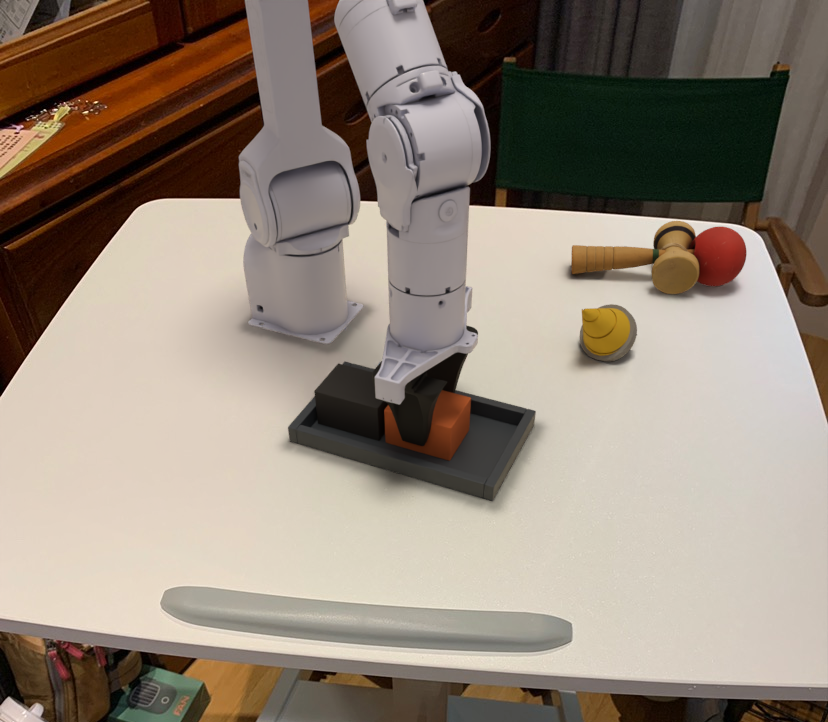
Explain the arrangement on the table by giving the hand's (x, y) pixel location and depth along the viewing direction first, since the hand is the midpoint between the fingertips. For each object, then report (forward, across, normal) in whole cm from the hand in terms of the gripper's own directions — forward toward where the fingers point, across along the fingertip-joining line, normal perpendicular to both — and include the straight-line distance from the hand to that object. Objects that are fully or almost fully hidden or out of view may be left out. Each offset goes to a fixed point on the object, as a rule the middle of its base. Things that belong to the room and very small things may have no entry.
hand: (426, 423), depth 70 cm
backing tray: (+2, 0, +1) cm, 2 cm away
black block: (+1, 0, +6) cm, 7 cm away
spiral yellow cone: (+2, +18, -11) cm, 21 cm away
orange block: (+1, 0, 0) cm, 1 cm away
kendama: (+2, +35, -12) cm, 37 cm away
